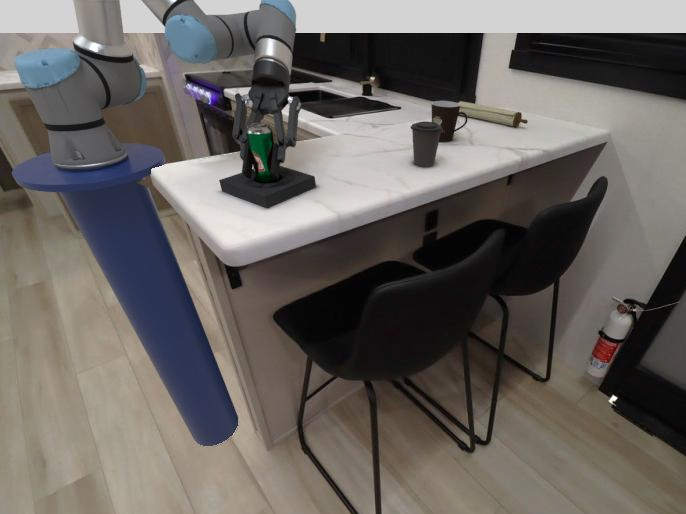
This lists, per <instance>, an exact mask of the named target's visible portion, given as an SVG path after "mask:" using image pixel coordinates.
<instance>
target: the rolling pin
mask: <svg viewBox="0 0 686 514" xmlns="http://www.w3.org/2000/svg"><path fill="white" fill-rule="evenodd" d="M456 103H459V104H460V109H459V112H464V113H465V114H466V115H467V117H468V118H469V117H470V118H474V119H479V120H483V121H489V122H494V123H498V124H502V125H508V126H511V127H513V128H518V127H519V126H520V124H521V123H522V124H526V125H527V124H528V122H529V120H528V119H524V118H523V117H522V116H523V114H522V112H521V111H515V110H511V109H505V108H500V107H496V106H489V105H484V104H478V103H474V102H473V103H472V102H468V101H463V100H458V101H457V102H456ZM458 116H464V115H463V114H459V115H458ZM464 117H465V116H464Z"/></svg>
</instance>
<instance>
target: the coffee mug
mask: <svg viewBox="0 0 686 514" xmlns="http://www.w3.org/2000/svg"><path fill="white" fill-rule="evenodd" d="M430 104H431V122H433V123H437V124H439V125H441V126H442V128H443V130H442V131H441V133H440V138H439V143H449V142H453V140H454V136H455V133H456V132H458V131H459V130H462V129H463V128H464V127H465V126H466V125H467V123H468V116H467V115H466V114H465V113H464V112H459V109H460V104H459V103H457V102H455V101H449V100H435V101H432V102H431V103H430ZM459 114H463V115H464V119H465V120H464V123H463V124H462V125H461V126H459V127H458V128H456V127H457V123H458V117H459V116H460V115H459ZM463 115H462V116H463Z"/></svg>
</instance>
